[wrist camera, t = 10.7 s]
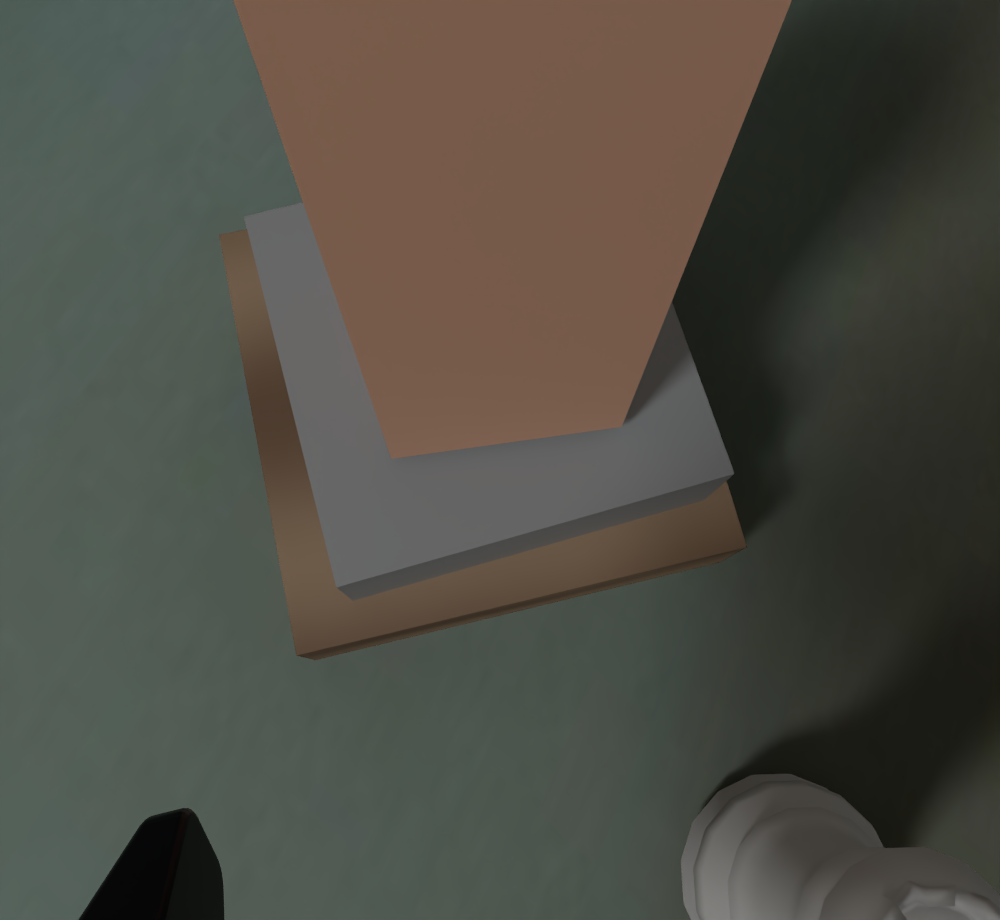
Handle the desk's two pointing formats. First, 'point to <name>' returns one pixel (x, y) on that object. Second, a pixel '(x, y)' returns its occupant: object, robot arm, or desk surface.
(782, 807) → the rook chess piece
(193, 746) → the desk surface
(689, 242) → the pillar
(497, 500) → the tower top
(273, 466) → the tower base
